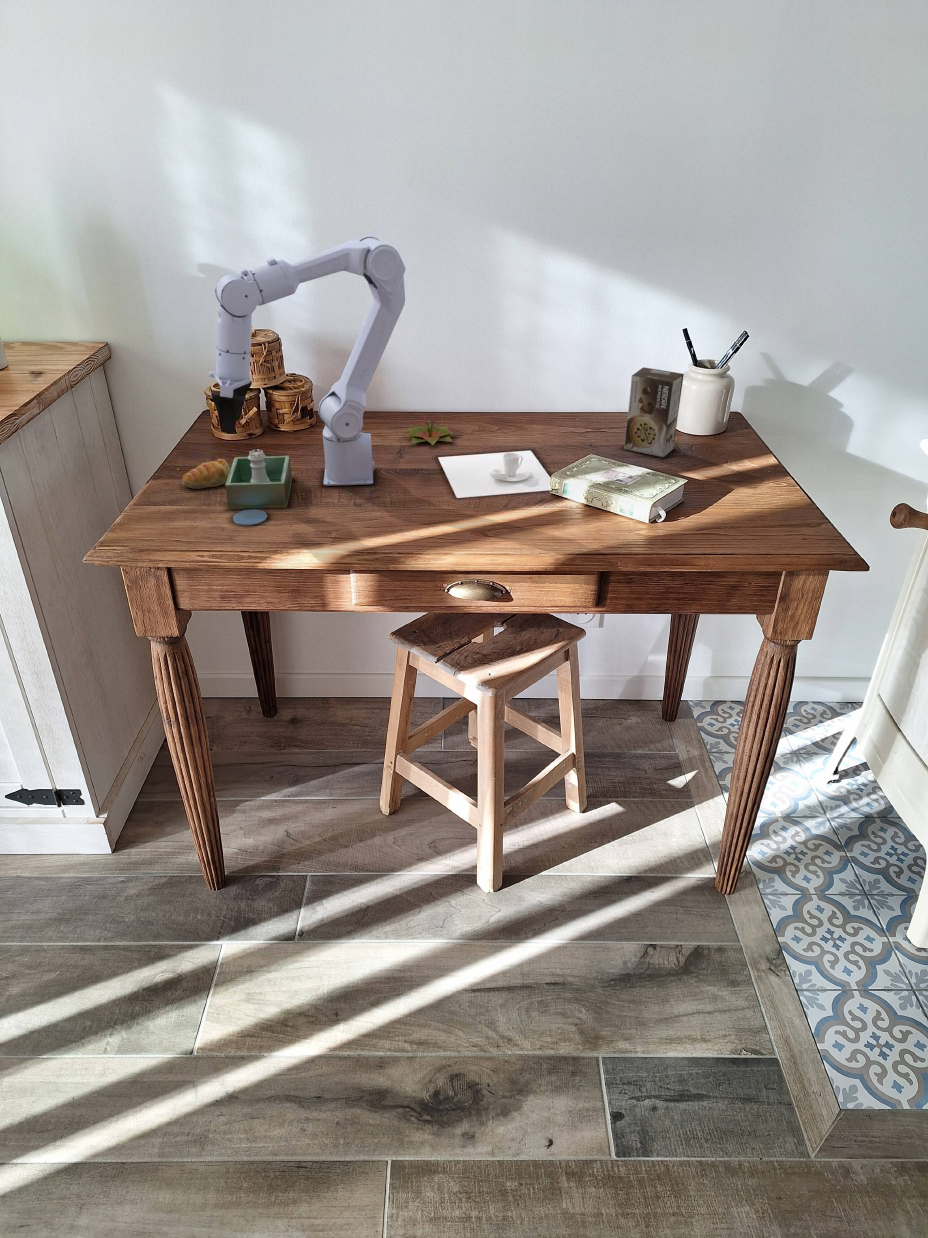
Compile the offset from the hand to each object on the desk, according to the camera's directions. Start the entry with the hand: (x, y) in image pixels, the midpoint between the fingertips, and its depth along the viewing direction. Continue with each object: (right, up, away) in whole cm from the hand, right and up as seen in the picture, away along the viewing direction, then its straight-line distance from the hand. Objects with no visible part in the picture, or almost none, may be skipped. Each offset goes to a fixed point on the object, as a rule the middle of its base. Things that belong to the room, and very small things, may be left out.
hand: (230, 425), depth 153 cm
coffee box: (+81, +1, +28) cm, 86 cm away
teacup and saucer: (+49, -6, +17) cm, 52 cm away
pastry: (-7, -8, +12) cm, 16 cm away
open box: (+4, -11, +7) cm, 14 cm away
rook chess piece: (+4, -11, +7) cm, 14 cm away
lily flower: (+35, +5, +32) cm, 48 cm away
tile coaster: (+4, -17, -1) cm, 17 cm away
